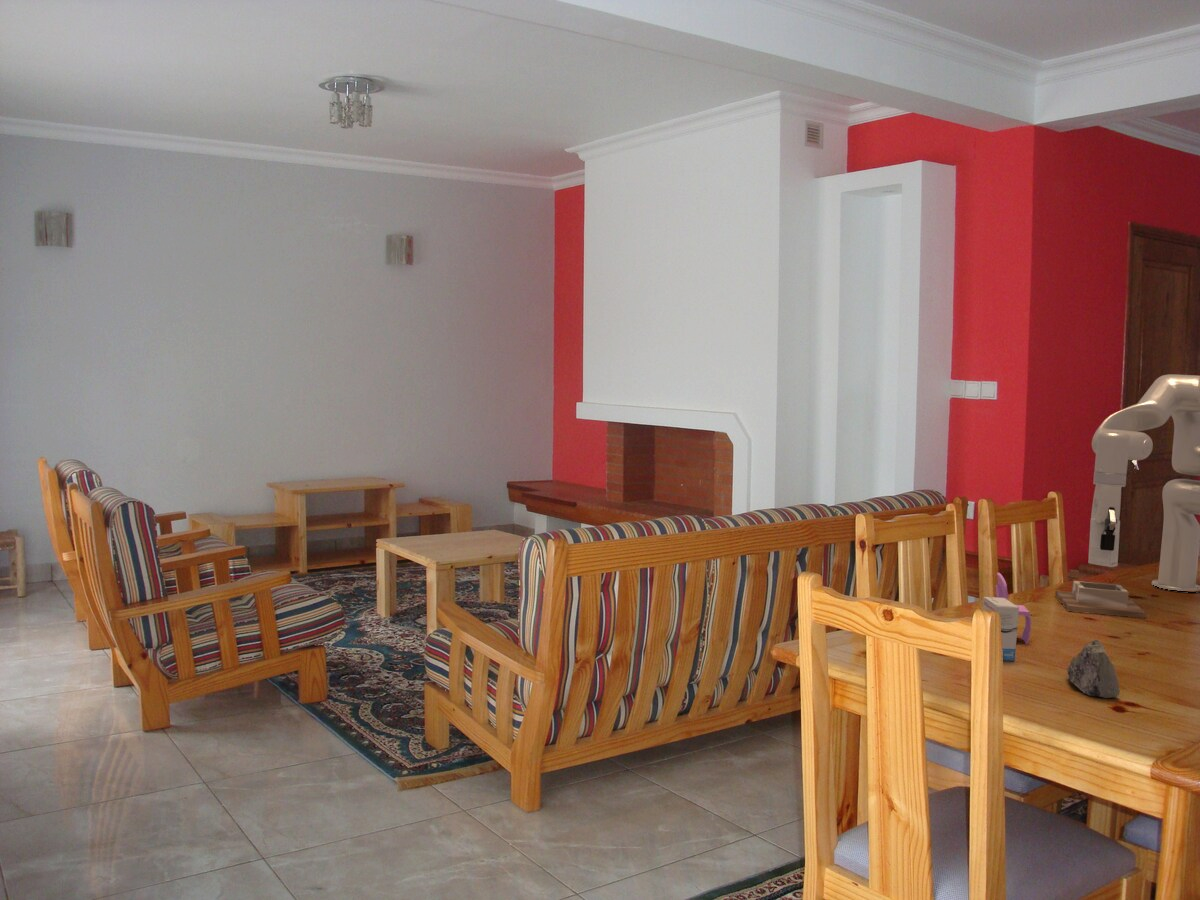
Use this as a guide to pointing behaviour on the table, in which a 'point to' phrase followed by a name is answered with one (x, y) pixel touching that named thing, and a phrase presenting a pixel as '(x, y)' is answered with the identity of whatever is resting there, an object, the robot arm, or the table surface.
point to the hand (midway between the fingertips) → (1103, 547)
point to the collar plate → (1099, 599)
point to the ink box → (1005, 623)
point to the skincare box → (1095, 552)
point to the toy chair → (1002, 593)
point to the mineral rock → (1094, 672)
